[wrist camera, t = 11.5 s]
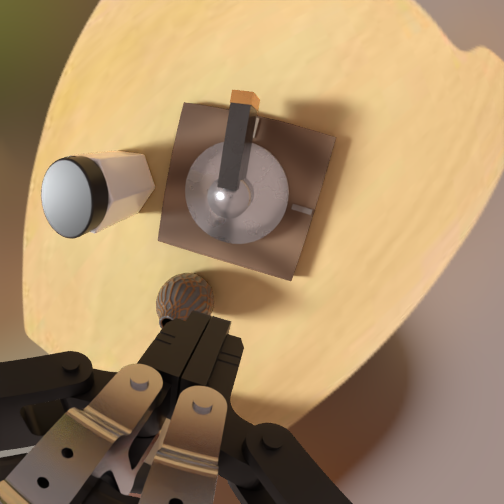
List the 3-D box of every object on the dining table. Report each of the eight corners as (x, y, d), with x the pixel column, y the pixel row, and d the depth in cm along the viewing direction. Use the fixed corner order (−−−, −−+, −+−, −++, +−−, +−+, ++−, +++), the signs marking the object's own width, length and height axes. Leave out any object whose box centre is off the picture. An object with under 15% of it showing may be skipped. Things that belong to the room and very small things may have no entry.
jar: (124, 136, 32) (59, 138, 21) (166, 174, 33) (108, 188, 22) (93, 188, 35) (31, 207, 24) (131, 226, 36) (73, 257, 25)
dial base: (291, 275, 35) (291, 281, 33) (162, 237, 36) (157, 241, 34) (334, 138, 29) (336, 137, 27) (188, 104, 30) (183, 102, 28)
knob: (278, 248, 32) (273, 268, 27) (185, 229, 33) (165, 244, 28) (305, 109, 27) (306, 100, 21) (203, 96, 28) (184, 86, 22)
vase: (212, 262, 36) (187, 295, 28) (224, 310, 38) (205, 350, 30) (165, 268, 38) (132, 299, 29) (179, 312, 40) (153, 349, 32)
